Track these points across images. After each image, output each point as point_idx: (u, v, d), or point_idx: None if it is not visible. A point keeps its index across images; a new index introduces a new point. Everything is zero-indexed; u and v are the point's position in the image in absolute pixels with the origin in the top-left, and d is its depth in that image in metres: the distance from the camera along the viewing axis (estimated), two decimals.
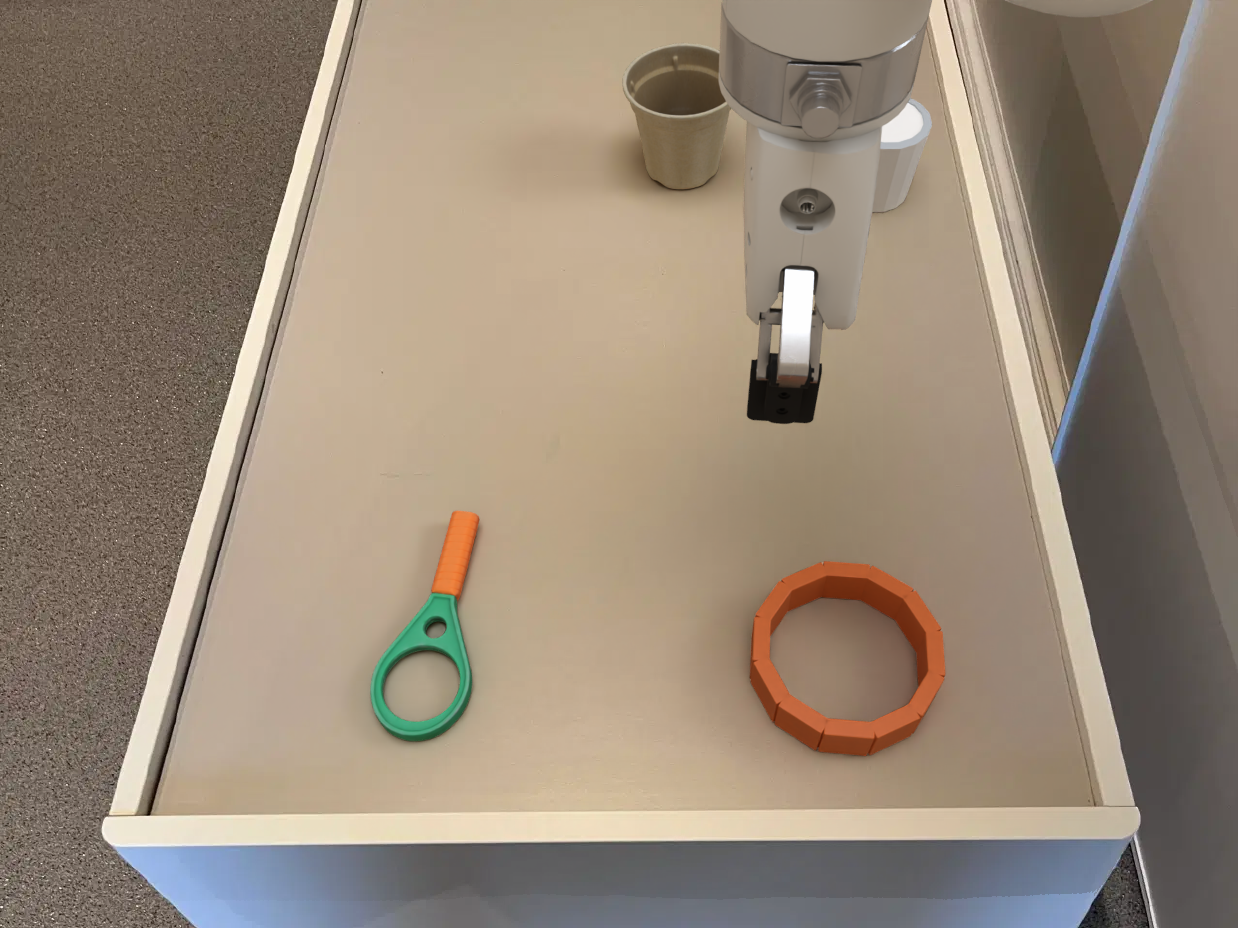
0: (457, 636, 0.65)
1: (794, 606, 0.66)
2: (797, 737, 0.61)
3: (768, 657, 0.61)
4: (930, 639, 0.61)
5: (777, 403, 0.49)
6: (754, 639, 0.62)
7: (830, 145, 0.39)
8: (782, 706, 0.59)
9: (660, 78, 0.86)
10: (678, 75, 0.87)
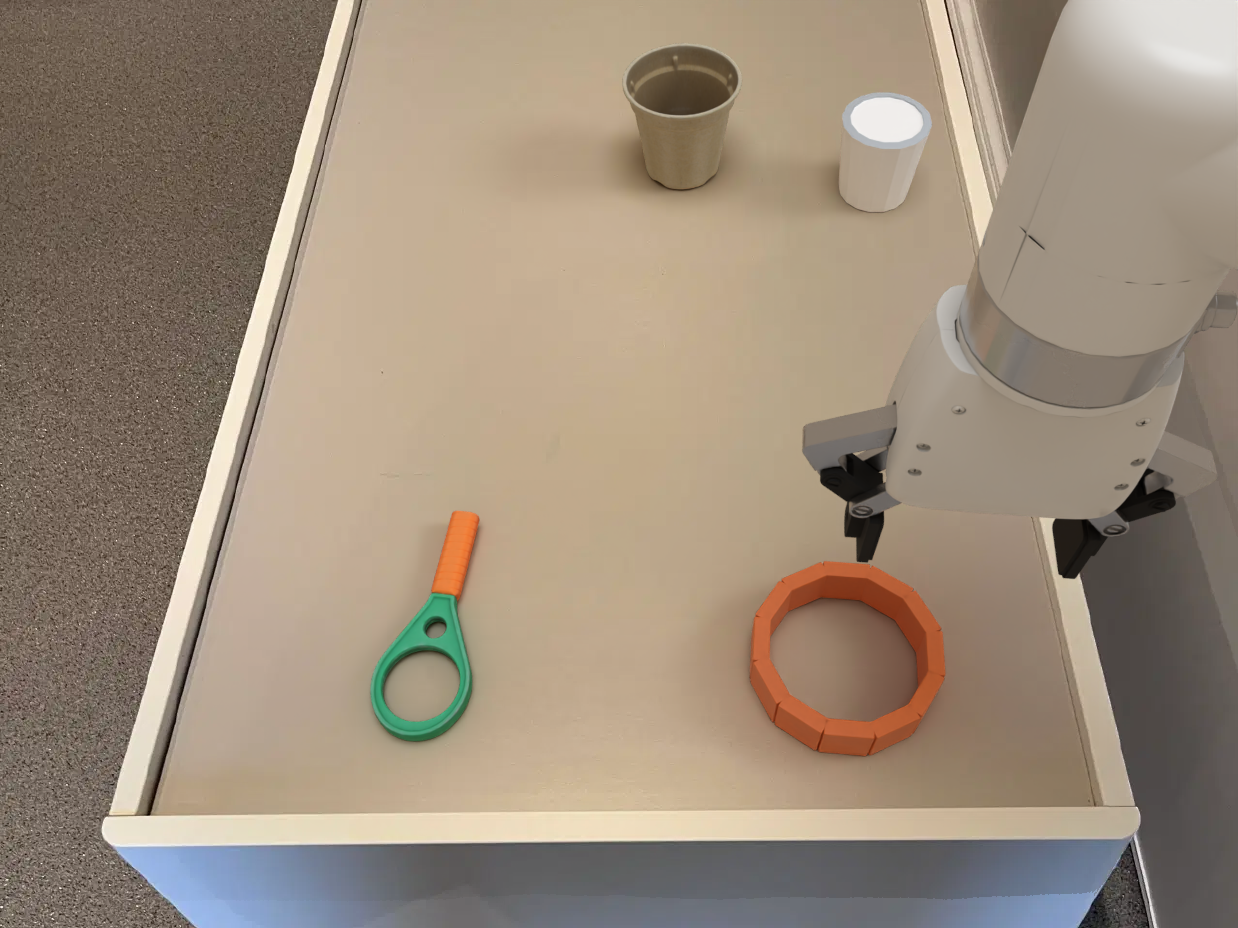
0: (457, 636, 0.65)
1: (794, 606, 0.66)
2: (797, 737, 0.61)
3: (768, 657, 0.61)
4: (930, 639, 0.61)
5: None
6: (754, 639, 0.62)
7: None
8: (782, 706, 0.59)
9: (660, 78, 0.86)
10: (678, 75, 0.87)
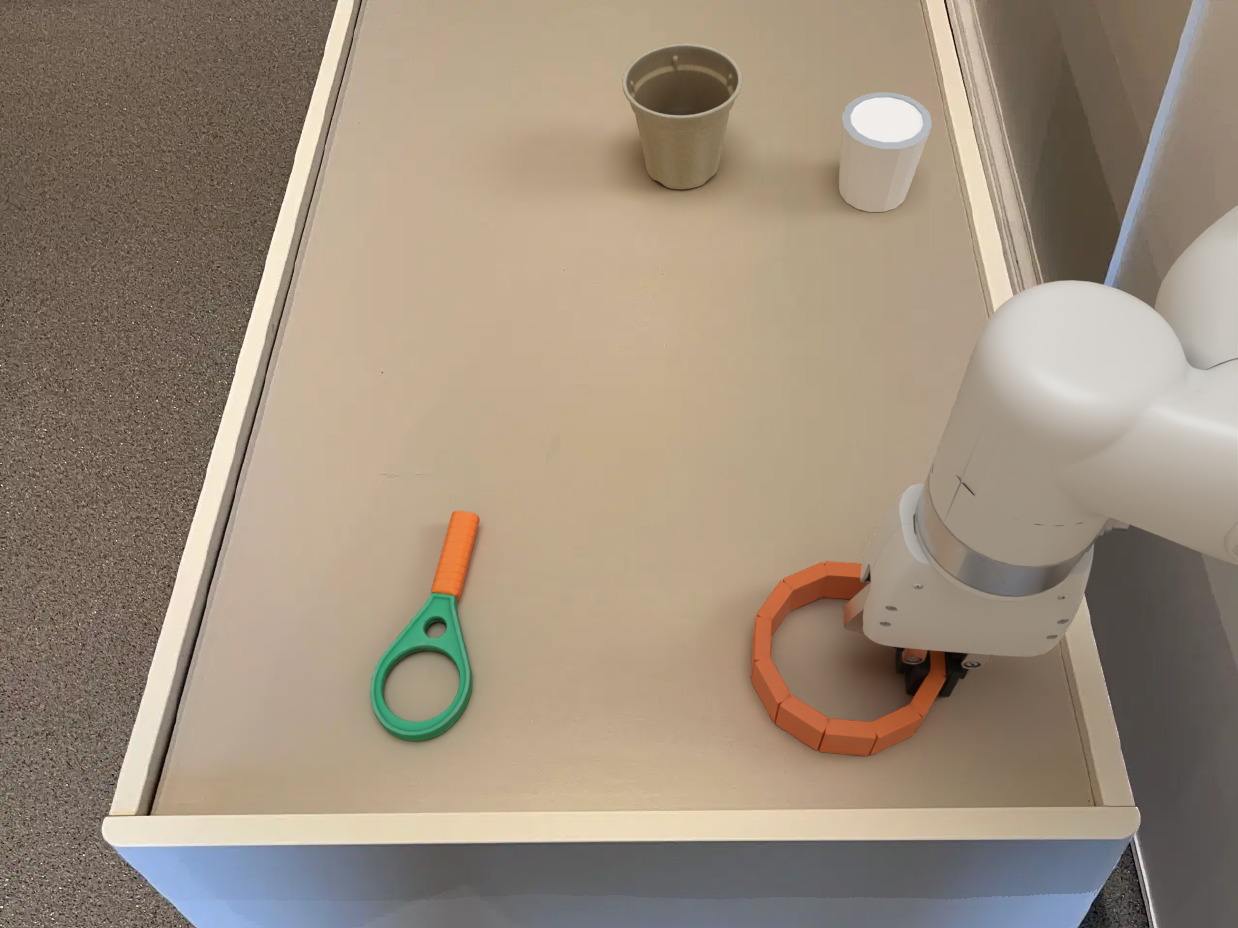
0: (457, 636, 0.65)
1: (795, 606, 0.66)
2: (798, 737, 0.61)
3: (769, 657, 0.61)
4: None
5: None
6: (755, 639, 0.62)
7: None
8: (783, 706, 0.59)
9: (660, 78, 0.86)
10: (678, 75, 0.87)
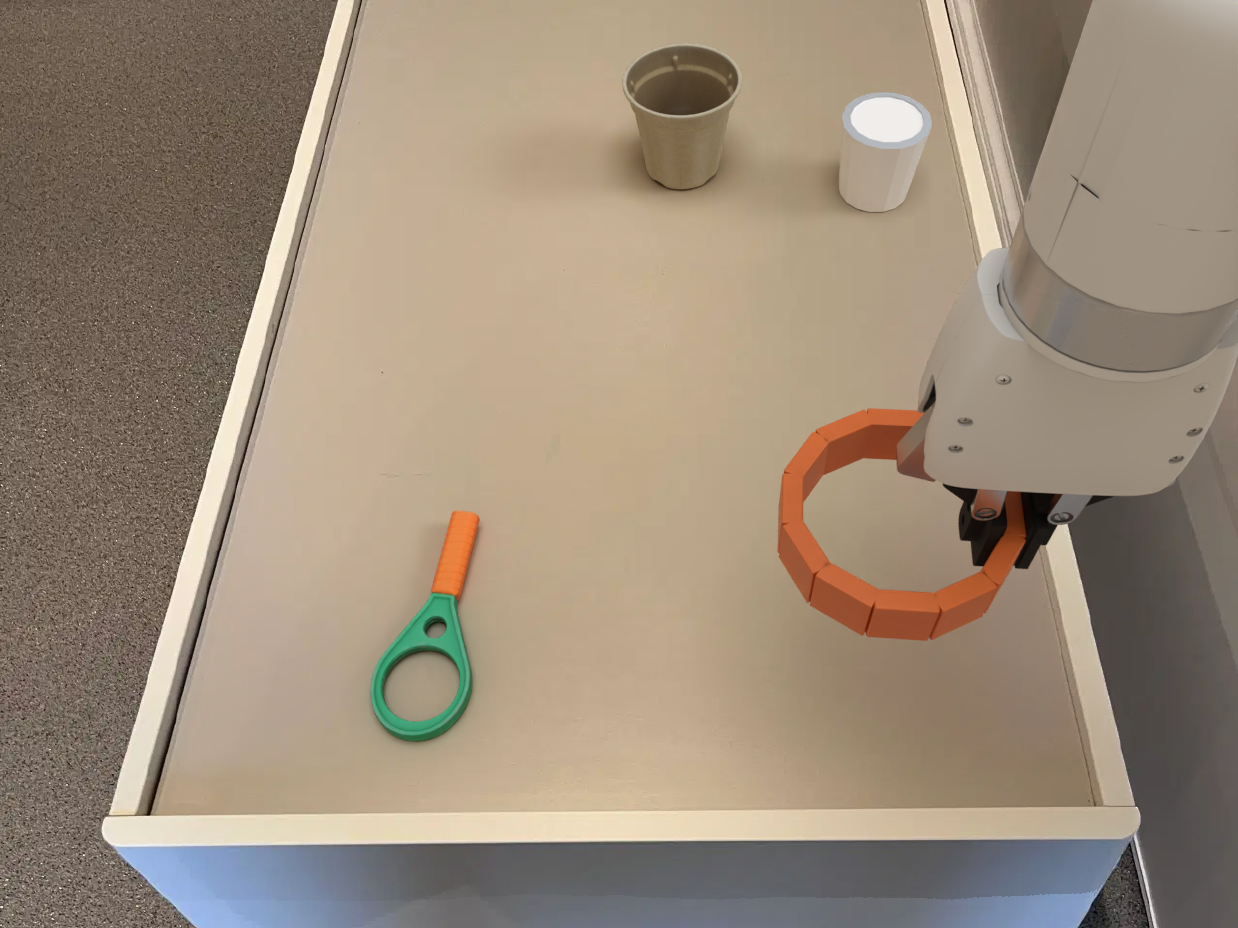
0: (457, 636, 0.65)
1: (831, 468, 0.53)
2: (839, 619, 0.49)
3: (801, 519, 0.49)
4: None
5: None
6: (783, 499, 0.49)
7: None
8: (820, 576, 0.47)
9: (660, 78, 0.86)
10: (678, 75, 0.87)
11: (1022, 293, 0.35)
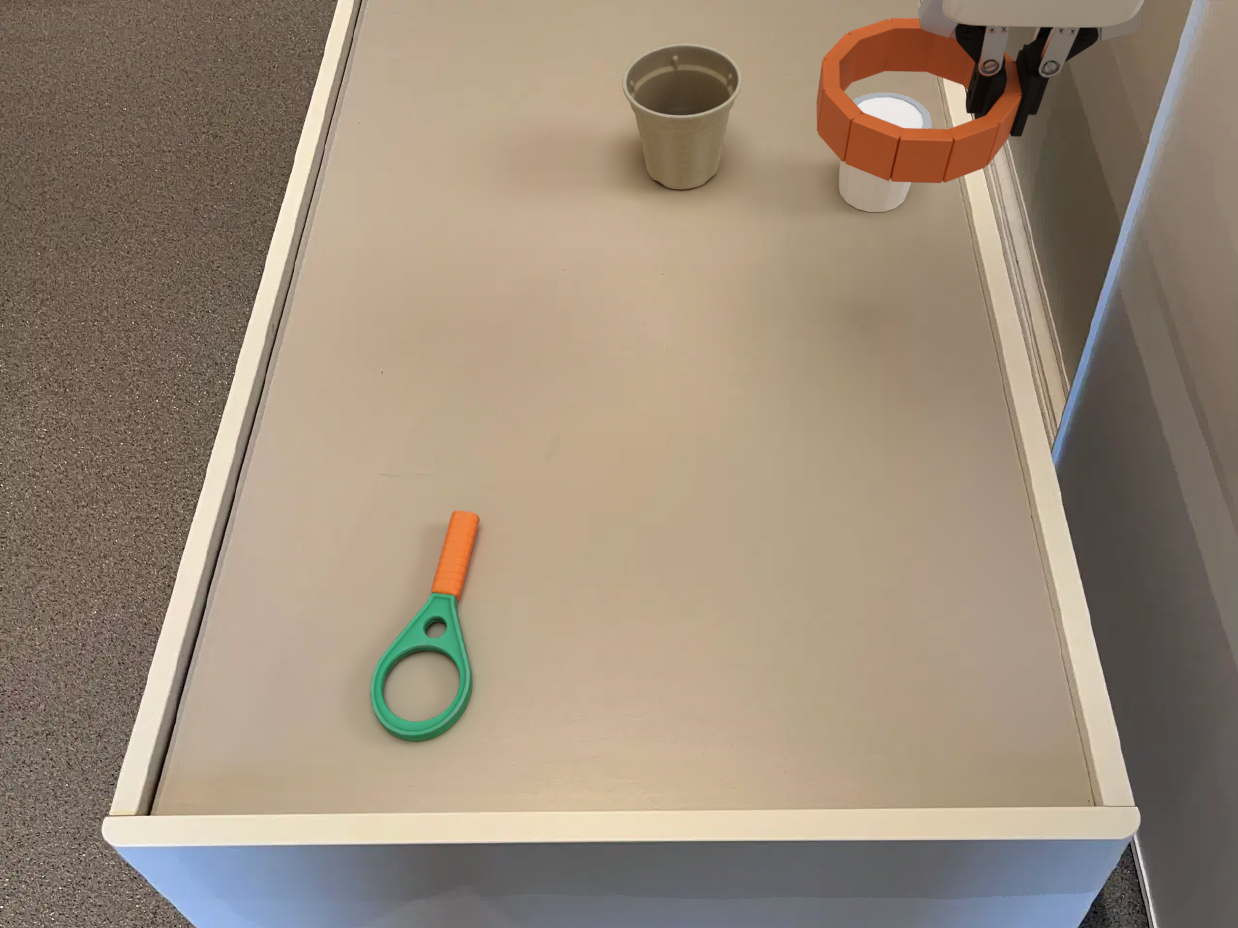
0: (457, 636, 0.65)
1: (859, 75, 0.64)
2: (869, 169, 0.59)
3: (839, 87, 0.59)
4: None
5: None
6: (823, 75, 0.60)
7: None
8: (856, 121, 0.58)
9: (660, 78, 0.86)
10: (678, 75, 0.87)
11: None
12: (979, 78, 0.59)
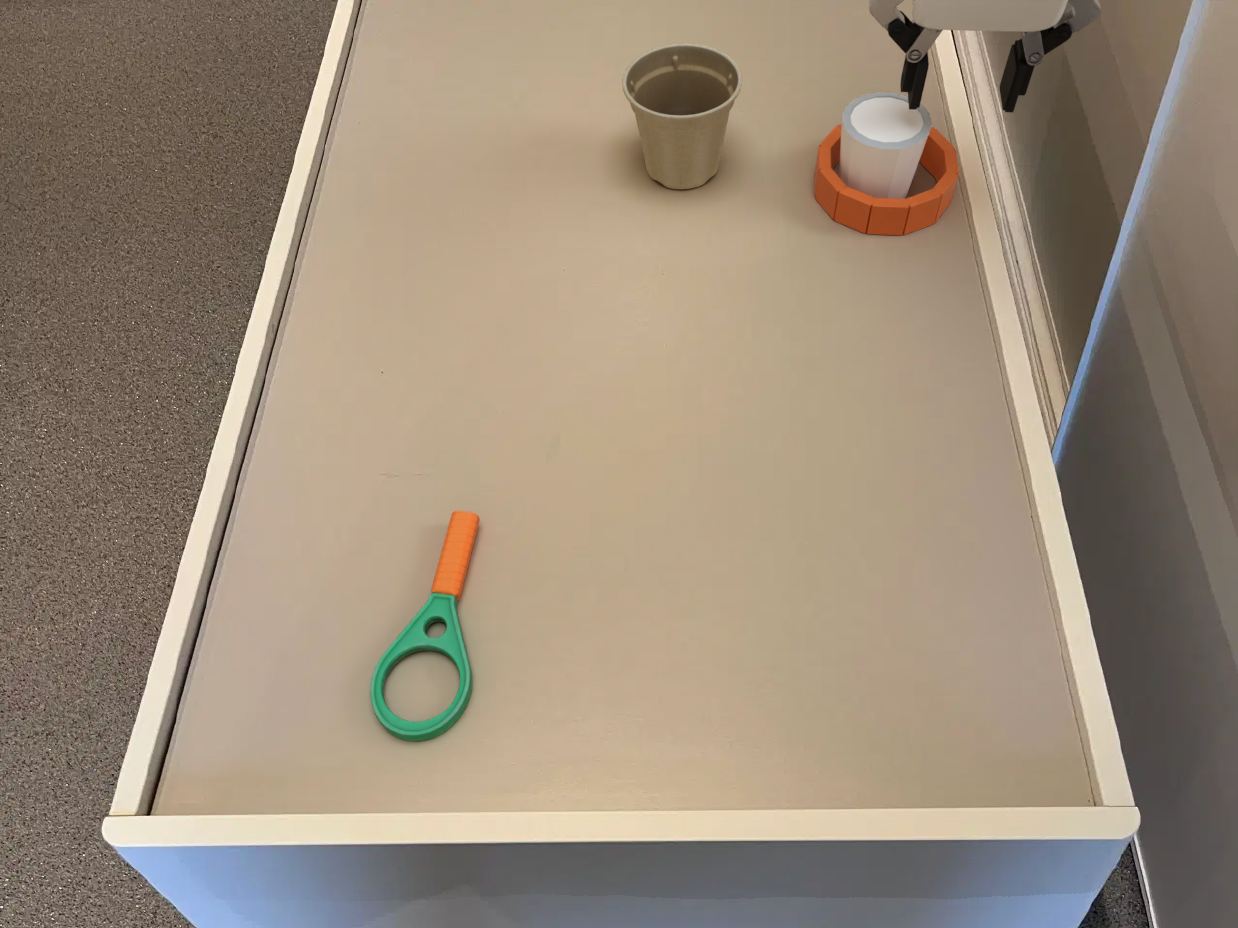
0: (457, 636, 0.65)
1: None
2: (851, 225, 0.84)
3: (830, 167, 0.84)
4: (947, 154, 0.84)
5: None
6: (819, 158, 0.85)
7: None
8: (841, 192, 0.82)
9: (660, 78, 0.86)
10: (678, 75, 0.87)
11: None
12: (908, 64, 0.76)
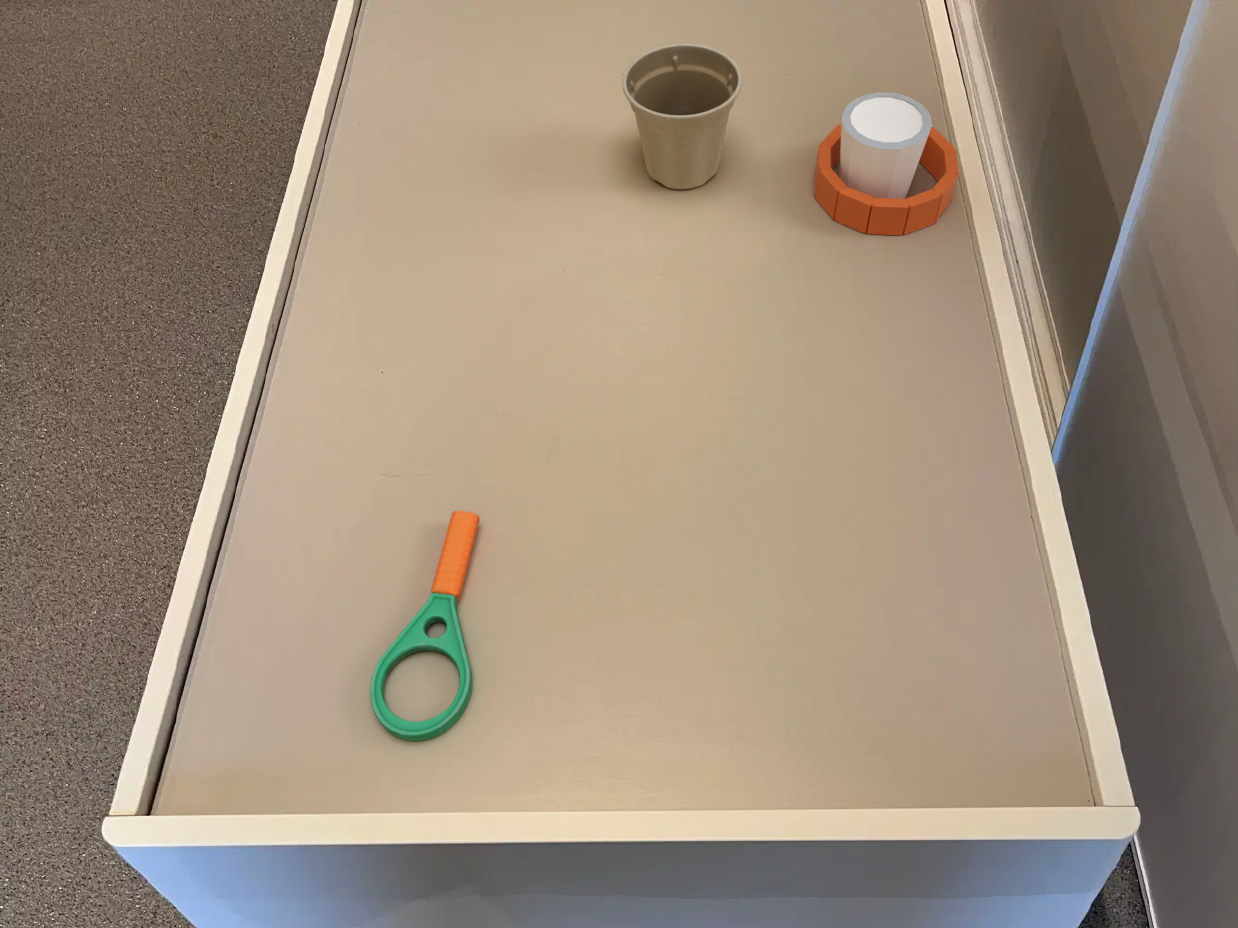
0: (457, 636, 0.65)
1: None
2: (851, 225, 0.84)
3: (830, 167, 0.84)
4: (947, 154, 0.84)
5: None
6: (819, 158, 0.85)
7: None
8: (841, 192, 0.82)
9: (660, 78, 0.86)
10: (678, 75, 0.87)
11: None
12: None
